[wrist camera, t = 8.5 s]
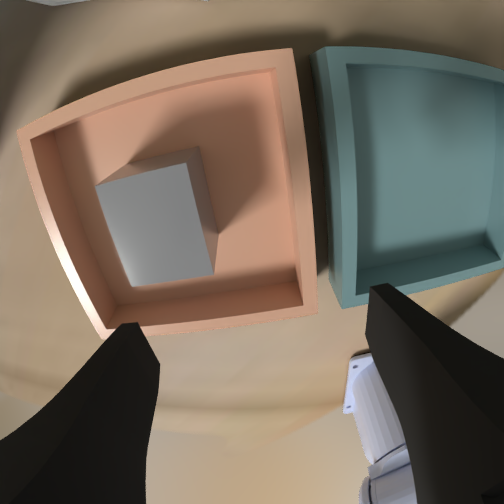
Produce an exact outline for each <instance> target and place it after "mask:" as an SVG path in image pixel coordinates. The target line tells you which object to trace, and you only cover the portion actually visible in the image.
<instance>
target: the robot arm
mask: <svg viewBox="0 0 504 504" xmlns="http://www.w3.org/2000/svg"><path fill="white" fill-rule="evenodd" d="M365 335H366V339H367V342H368V345H369V349H370V352H371V353H367V354H363V355H359V356H355V357H353V358H351V359H350V361H349V369H348V377H347V385H346V392H345V399H344V405H343V412H344V413H345V414H347V413H351V412H353V414H354V418H355V421H356V425H357V428H358V432H359V435H360V439H361V442H362V446H363V450H364V453H365V456H366V458H367V459H368V461H369V462H370V463H371V464H372V465H371V466H369V467H368V471H369V475H370V476H367V477H366V478H365V479H364V481H363V483H362V486H361V488H360V491H359V504H504V359H503V358H501V357H499V356H497V355H495V354H494V353H492V352H490V351H488V350H486V349H484V348H483V347H481V346H479V345H477V344H476V343H474V342H472V341H471V340H469V339H467V338H466V337H464V336H462V335H461V334H459V333H458V332H456V331H455V330H453V329H452V328H450V327H449V326H447V325H446V324H444V323H443V322H442V321H440V320H439V319H437V318H436V317H434V316H433V315H432V314H430V313H429V312H428V311H426V310H425V309H423V308H422V307H421V306H419V305H418V304H417V303H415V302H414V301H413V300H411V299H410V298H408V297H407V296H406V295H404V294H403V293H402V292H400V291H399V290H398V289H396V288H395V287H393V286H392V285H390V284H389V283H384V284H379V285H375V286H370V289H369V302H368V313H367V323H366V332H365ZM159 376H160V363H159V361H158V359H157V358H156V356H155V354H154V352H153V350H152V348H151V347H150V345H149V343H148V341H147V339H146V337H145V335H144V333H143V331H142V329H141V327H140V325H139V323H138V322H132V323H122V324H121V325H120V326H119V327H118V328H117V329H116V330H115V331H114V332H113V333H112V334H111V335H110V336H109V337H108V338H107V339H106V341H105V342H104V343H103V344H102V345H101V346H100V347H99V348H98V350H97V351H96V352H95V353H94V354H93V355H92V356H91V358H90V359H89V360H88V361H87V362H86V363H85V365H84V366H83V367H82V368H81V369H80V370H79V371H78V372H77V373H76V374H75V376H74V377H73V378H72V379H71V380H70V381H69V382H68V383H67V384H66V385H65V386H64V387H63V389H62V390H61V391H60V392H59V393H58V394H57V395H56V396H55V397H54V398H53V399H52V400H51V401H50V402H49V403H47V404H46V405H45V406H44V407H43V408H42V409H41V410H40V411H39V412H38V413H36V414H35V415H34V416H33V417H32V418H30V419H29V420H28V421H27V422H25V423H24V424H23V425H21V426H20V427H19V428H18V429H17V430H15V431H14V432H12V433H11V434H9V435H8V436H7V437H5V438H4V439H2V440H0V504H146V491H145V490H146V489H145V486H146V485H145V480H146V456H147V447H148V443H149V437H150V432H151V427H152V421H153V416H154V411H155V406H156V401H157V396H158V389H159Z"/></svg>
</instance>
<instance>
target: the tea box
mask: <svg viewBox="0 0 504 504" xmlns="http://www.w3.org/2000/svg"><path fill="white" fill-rule="evenodd" d="M28 1H32V2H36V3H41V4H45V5H50V6H57V5H63V4H69V3H76V2H83V1H88V0H28ZM204 1H209V0H204Z"/></svg>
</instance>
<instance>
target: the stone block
mask: <svg viewBox="0 0 504 504" xmlns="http://www.w3.org/2000/svg"><path fill="white" fill-rule="evenodd" d="M95 189H96V192H97V195H98V198H99V201H100V204H101V207H102V210H103V213H104V216H105V219H106V222H107V225H108V227H109V230H110V233H111V236H112V238H113V241H114V244H115V246H116V249H117V251H118V254H119V257H120V259H121V262H122V264H123V266H124V269H125V271H126V274H127V276H128V279H129V281H130V283H131V286H132V287H135V286H142V285H149V284H156V283H163V282H170V281H176V280H183V279H190V278H196V277H203V276H209V275H214V271H215V263H216V254H217V246H218V237H219V233H218V229H217V225H216V220H215V216H214V211H213V207H212V203H211V198H210V194H209V189H208V185H207V180H206V175H205V171H204V166H203V162H202V157H201V152H200V147H199V146H196V147H192V148H187V149H183V150H178V151H174V152H170V153H165V154H161V155H157V156H153V157H149V158H146V159H142V160H138V161H134V162H131V163H127V164H125V165H124V166H122V167H121V168H119V169H118V170H117V171H115V172H114V173H112V174H111V175H110V176H108V177H107V178H105V179H104V180H103V181H101V182H100V183H98V184H97V185H96V186H95Z"/></svg>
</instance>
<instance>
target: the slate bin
mask: <svg viewBox="0 0 504 504" xmlns="http://www.w3.org/2000/svg"><path fill="white" fill-rule="evenodd" d="M309 58H310V64H311V71H312V77H313V84H314V91H315V98H316V106H317V114H318V122H319V131H320V140H321V150H322V161H323V172H324V185H325V199H326V215H327V234H328V261H329V281H330V283H331V286H332V288H333V290H334V293H335V295H336V297H337V299H338V302H339V304H340V306H341V309H345V308H350V307H355V306H360V305H364V304H368V302H369V289H370V286H375V285H379V284H384V283H389V284H390V285H392V286H393V287H395V288H396V289H398V290H399V291H400V292H402V293H403V294H404V295H408V294H412V293H416V292H420V291H424V290H428V289H432V288H436V287H440V286H443V285H447V284H451V283H454V282H458V281H462V280H465V279H468V278H472V277H475V276H479V275H482V274H485V273H489V272H492V271H495V270H498V269H501V268H504V70H502V69H498V68H495V67H491V66H488V65H484V64H480V63H476V62H472V61H468V60H463V59H458V58H454V57H448V56H443V55H437V54H431V53H424V52H417V51H409V50H400V49H389V48H375V47H350V46H327V47H323V48H321V49H319V50H318V51H316V52H314V53H312V54H310V55H309Z"/></svg>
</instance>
